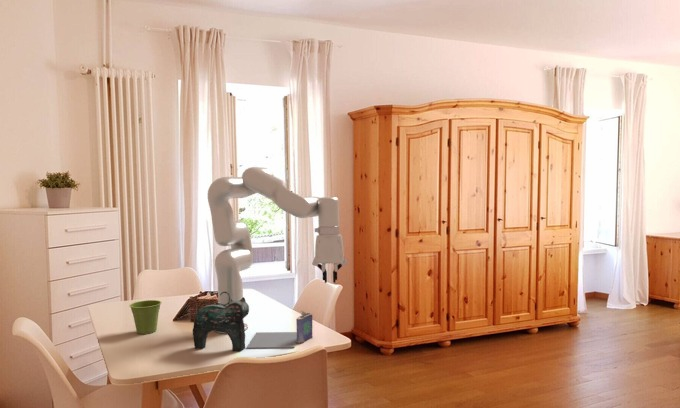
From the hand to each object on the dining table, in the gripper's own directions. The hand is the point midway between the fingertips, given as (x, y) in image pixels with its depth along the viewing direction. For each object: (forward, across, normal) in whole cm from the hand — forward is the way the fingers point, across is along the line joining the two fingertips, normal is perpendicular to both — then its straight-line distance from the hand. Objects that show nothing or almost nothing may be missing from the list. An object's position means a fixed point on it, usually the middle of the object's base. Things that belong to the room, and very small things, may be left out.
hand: (330, 281), depth 181 cm
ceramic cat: (+21, -38, -9) cm, 45 cm away
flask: (+21, -10, 0) cm, 24 cm away
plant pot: (+21, -73, +13) cm, 77 cm away
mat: (+21, -21, 0) cm, 30 cm away
